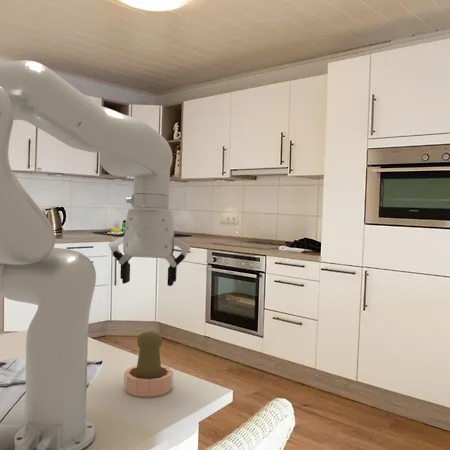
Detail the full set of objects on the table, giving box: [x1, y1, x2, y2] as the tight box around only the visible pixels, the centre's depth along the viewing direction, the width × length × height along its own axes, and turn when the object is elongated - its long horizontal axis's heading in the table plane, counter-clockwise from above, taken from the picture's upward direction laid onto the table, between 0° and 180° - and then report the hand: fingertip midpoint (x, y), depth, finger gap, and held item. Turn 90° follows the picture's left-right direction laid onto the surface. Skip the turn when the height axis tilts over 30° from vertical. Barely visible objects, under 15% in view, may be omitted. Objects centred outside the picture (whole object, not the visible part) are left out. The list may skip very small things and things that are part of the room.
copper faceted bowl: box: [123, 364, 174, 399], centre depth 102 cm, size 10×10×4 cm
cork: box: [135, 331, 163, 379], centre depth 101 cm, size 6×6×11 cm
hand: (148, 283), depth 101 cm, fingers open, 9 cm apart
